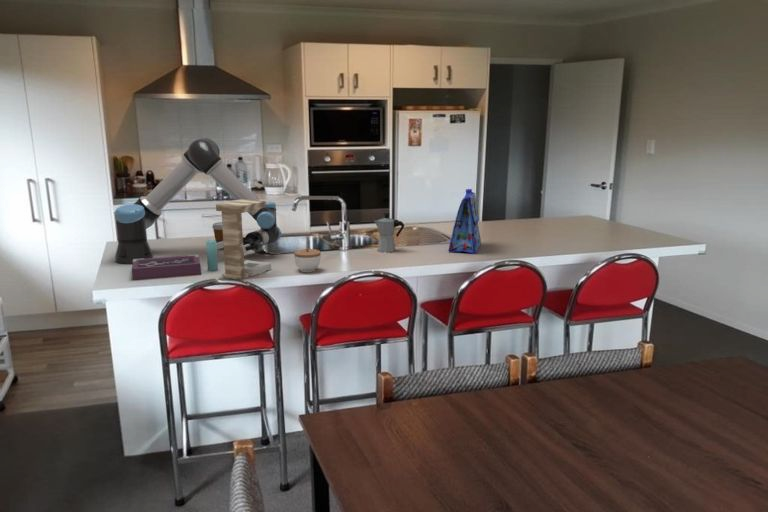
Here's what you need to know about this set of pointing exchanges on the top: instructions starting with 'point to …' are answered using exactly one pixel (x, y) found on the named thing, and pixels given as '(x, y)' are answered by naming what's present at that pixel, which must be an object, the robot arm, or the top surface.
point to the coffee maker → (387, 233)
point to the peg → (212, 255)
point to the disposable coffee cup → (218, 232)
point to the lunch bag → (466, 226)
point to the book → (166, 267)
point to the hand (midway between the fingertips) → (226, 248)
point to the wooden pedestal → (235, 234)
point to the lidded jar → (307, 259)
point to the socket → (255, 267)
